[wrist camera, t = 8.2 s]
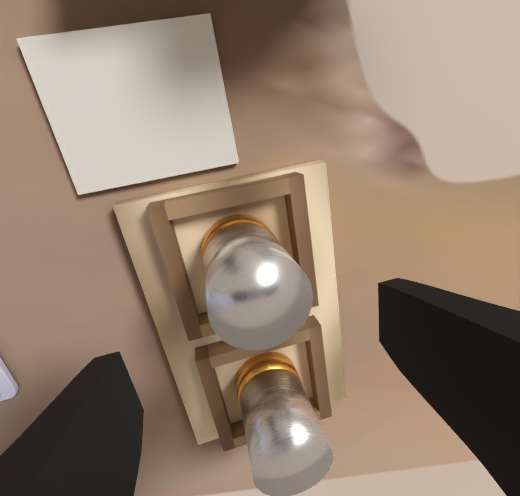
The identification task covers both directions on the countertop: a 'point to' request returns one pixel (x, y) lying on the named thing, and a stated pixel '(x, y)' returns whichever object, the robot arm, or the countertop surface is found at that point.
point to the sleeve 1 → (252, 284)
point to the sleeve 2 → (280, 426)
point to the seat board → (194, 297)
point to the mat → (134, 100)
